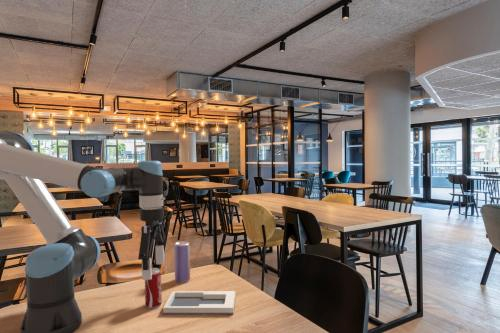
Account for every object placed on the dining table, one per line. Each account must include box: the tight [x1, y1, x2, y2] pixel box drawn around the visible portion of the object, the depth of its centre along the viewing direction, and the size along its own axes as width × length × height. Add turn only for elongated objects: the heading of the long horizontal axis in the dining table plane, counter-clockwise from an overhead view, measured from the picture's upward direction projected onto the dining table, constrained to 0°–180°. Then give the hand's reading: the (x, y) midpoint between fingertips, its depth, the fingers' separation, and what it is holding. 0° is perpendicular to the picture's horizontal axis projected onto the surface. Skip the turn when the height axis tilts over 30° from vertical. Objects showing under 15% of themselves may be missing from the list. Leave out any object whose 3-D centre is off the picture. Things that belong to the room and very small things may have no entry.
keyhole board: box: [162, 290, 236, 316], centre depth 105 cm, size 22×12×2 cm, turn 89°
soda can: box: [144, 267, 163, 310], centre depth 105 cm, size 5×5×12 cm
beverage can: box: [173, 240, 191, 284], centre depth 126 cm, size 6×6×15 cm
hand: (154, 271), depth 105 cm, fingers open, 13 cm apart
